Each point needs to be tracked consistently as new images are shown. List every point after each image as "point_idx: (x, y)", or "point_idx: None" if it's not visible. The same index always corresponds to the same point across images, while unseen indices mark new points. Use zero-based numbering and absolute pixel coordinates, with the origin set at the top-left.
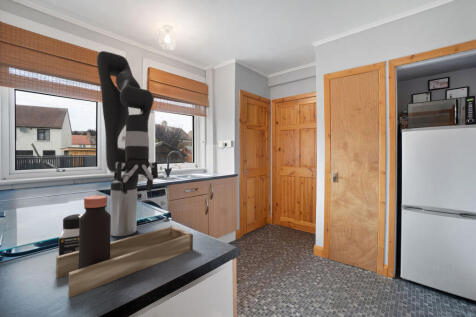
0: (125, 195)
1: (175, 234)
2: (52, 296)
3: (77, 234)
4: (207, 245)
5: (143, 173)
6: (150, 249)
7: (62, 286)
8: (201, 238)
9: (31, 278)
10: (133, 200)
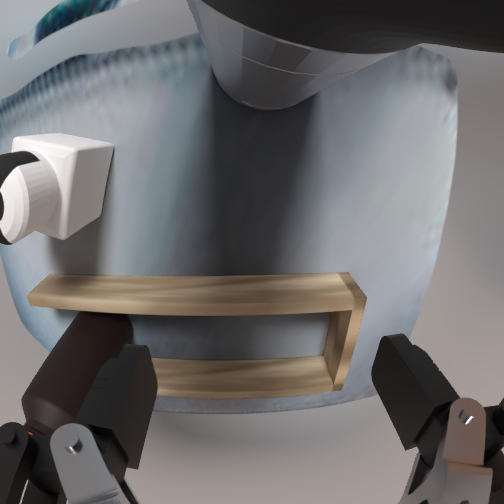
0: (271, 59)
1: (340, 326)
2: (58, 335)
3: (38, 230)
4: (368, 361)
5: None
6: (206, 396)
7: (64, 319)
8: (399, 320)
9: (20, 248)
10: (338, 78)
